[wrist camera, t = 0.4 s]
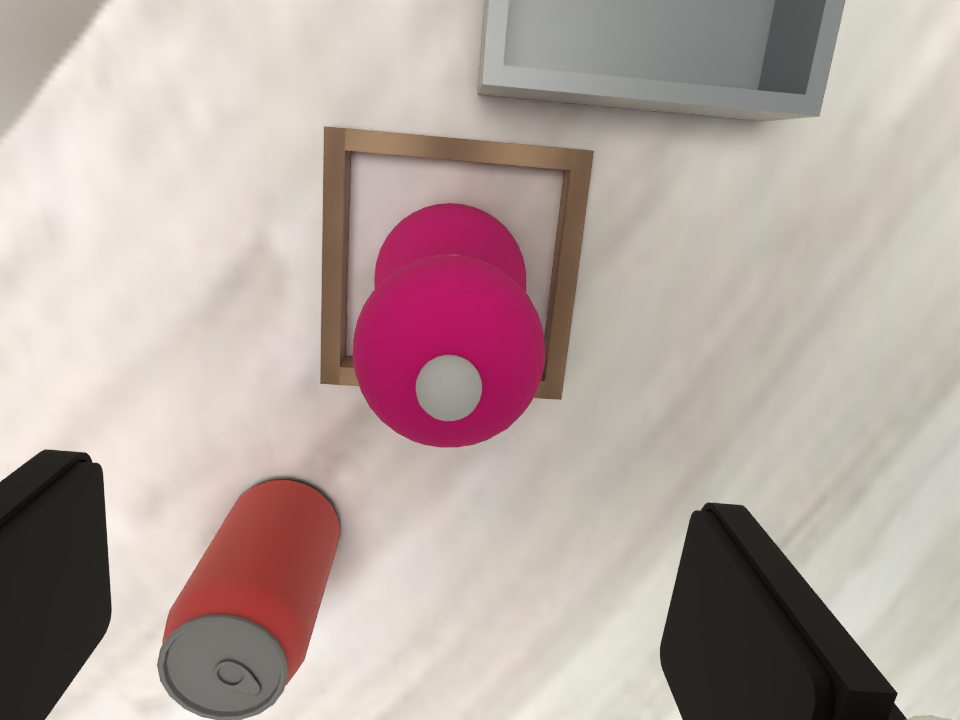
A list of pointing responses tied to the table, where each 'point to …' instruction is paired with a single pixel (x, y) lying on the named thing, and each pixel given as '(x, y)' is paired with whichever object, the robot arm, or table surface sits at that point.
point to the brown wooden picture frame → (570, 160)
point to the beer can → (250, 603)
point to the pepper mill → (449, 329)
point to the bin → (663, 54)
